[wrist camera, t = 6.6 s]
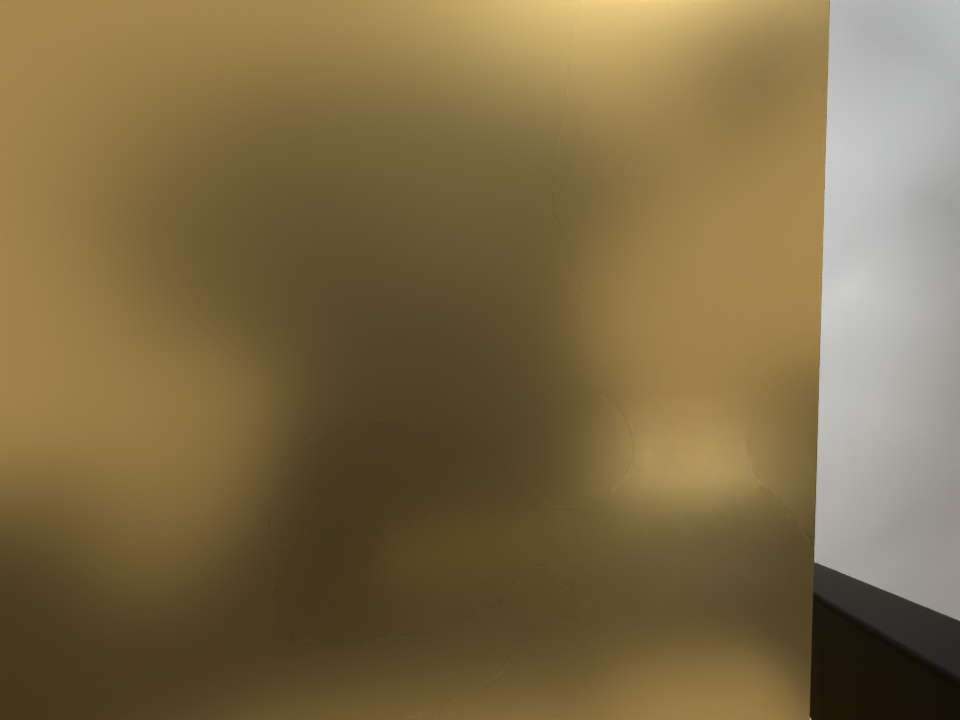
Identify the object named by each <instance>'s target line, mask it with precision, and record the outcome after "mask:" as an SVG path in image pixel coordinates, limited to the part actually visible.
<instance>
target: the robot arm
mask: <svg viewBox="0 0 960 720" xmlns="http://www.w3.org/2000/svg"><path fill="white" fill-rule="evenodd" d="M810 718H811V719H812V720H960V621H958V620H956V619H954V618H951V617H949V616H946V615H944V614H941V613H939V612H936V611H934V610H931V609H929V608H926V607H924V606H921V605H919V604H917V603H914V602H912V601H909V600H907V599H904V598H902V597H899V596H897V595H894V594H892V593H889V592H887V591H884V590H882V589H879V588H877V587H875V586H872V585H870V584H867V583H865V582H862V581H860V580H857V579H855V578H852V577H850V576H847V575H845V574H842V573H840V572H838V571H835V570H833V569H830V568H828V567H825V566H823V565H820V564H818V563H815V562H814V576H813V611H812V647H811V682H810Z"/></svg>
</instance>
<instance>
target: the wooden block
mask: <svg viewBox="0 0 960 720" xmlns="http://www.w3.org/2000/svg"><path fill="white" fill-rule="evenodd" d="M829 15H830V0H0V720H809V717H810V682H811V647H812V611H813V576H814V541H815V506H816V471H817V436H818V401H819V366H820V331H821V296H822V261H823V225H824V190H825V155H826V120H827V85H828V50H829Z"/></svg>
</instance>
